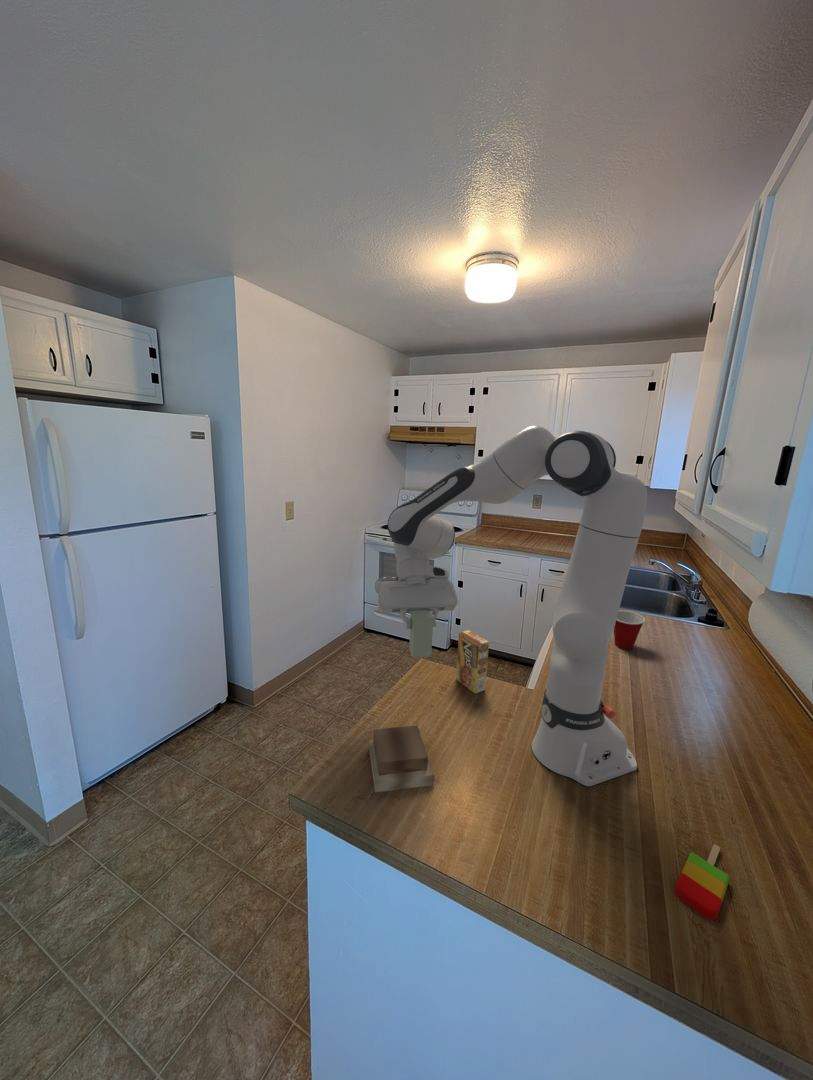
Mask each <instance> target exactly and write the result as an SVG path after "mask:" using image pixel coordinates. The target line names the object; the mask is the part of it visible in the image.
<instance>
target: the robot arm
mask: <svg viewBox="0 0 813 1080" xmlns="http://www.w3.org/2000/svg"><path fill="white" fill-rule="evenodd" d="M616 463H617V456H616V452H615V450H614V447H613V446H612V444H611V443H610V442H608V441H607V440H606V439H604V438H603V437H602V436H600V435H598V434H597V433H594V432H590V431H584V430H572V431H568V432H565V433H563V434H561V435H560V436H558V437H557V438H556V437H555V436H554V434H552V433H551V432H550V430H548V429H546V428H544V427H543V426H540V425H531V426H528V427H526V428H524V429H521V430H520V431H519V432H517V433H516V434H514V435H512V436H511V437H510V438H509V439H507V440H506V441H504V442H503V443H502V444H501V445H499V446H498V447H497V448H496V449H495V450H494V451H493V452H492V453H490V454H489V455H486V457H485V458H482V459H481V460H479V461H477V462H475V463H473V464H470V465H468V466H463V467H459V468H458V469H457V468H456V469H455V470H454V471H452V472H450V473H449V474H447V475H446V476H444V477H443V478H442V479H440V480H438V481H437V482H435V483H434V484H433V485H431V486H430V487H429V488H427V489H425V490H424V491H423V492H422V493H420V494H418V496H416V497H414V498H412V499H411V500H409V501H406V502H405V503H402V504H401V505H399V506H397V507H396V508H394V510H392V512H391V513H390V514H389V517H388V519H387V523H386V524H387V531H388V534H389V536H390V539H391V540H392V542H393V550H394V557H395V559H396V565H395V568H396V570H395V571H396V576H390V577H384V576H382V577H380V578H379V579H377V580H375V582H374V588H375V593H377V604H376V605H377V611H378V612H379V613H380V614H397V613H398V615H399V618H400V619H401V621H402V622H403V623H404V627H405V628H404V629H405V630H410V629H412V620H410V619H409V618H408V617H407V616H406V614H407V613H411V611H424V610H429V612H430V613H431V615H432V616H433V629H434V628H436V627H437V622H436V618H437V616H438V615H439V612H446V611H448V612H449V611H450V612H451V611H454V610H455V609H456V607H457V606H458V604H459V603H458V602H459V600H458V595H457V591H456V589H455V585H454V582H453V581H452V580H451V579H449V577H450V572H449V570H448V569H446V568H442V567H438V566H434V565H432V564H430V560H431V559H436V558H438V557H440V556H442V555H445V554H446V553H448V552H449V551H450V550H451V549H452V547H453V546H454V543H455V539H456V532H455V528H454V525H453V524H452V522H451V521H448V520H446V519H444V518H442V517H440V516H437V514H438V513H439V512H441V511H442V510H444V509H446V508H447V507H449V506H450V505H452V504H455V503H459V502H479V503H486V504H492V505H495V504H496V505H497V504H498V505H500V504H504V503H506V502H508V501H511V500H512V499H515V498H516V497H518V496H519V495H520V494H522V493H523V492H524V491H526V490H527V489H528V488H529V487H531V486H532V485H533V484H534V483H536V482H537V481H538V480H539V479H541V478H542V477H544V476H547V475H548V476H549V477H550V478H551V479H552V481H554V482H555V483H556V484H558V485H559V486H561V487H563V488H565V489H567V490H569V491H571V493H572V492H573V493H575V494H576V495H578V496H580V497H583V498H584V499H583V500H584V501H583V510H582V515H581V516H580V517H581V518H580V521H579V524H578V525H579V526H578V529H577V532H576V536H575V541H574V543H573V547H572V551H571V555H570V559H569V563H568V566H567V569H566V572H565V576H564V579H563V583H562V585H561V586H562V587H561V590H560V594H559V597H558V600H557V604H556V607H555V611H554V615H553V618H552V635H553V639H554V640H553V646H552V649H551V655H550V660H549V667H548V675H547V682H546V688H545V689H544V692H543V697H542V698H543V699H542V704H541V705H542V706H541V719H540V722H539V725H538V729H537V731H536V733H535V736H534V738H533V739H532V742H531V749H532V752H533V755H534V756H535V758H537V760H538V761H539V762H540V763H541V764H542V765H543V766H544V767H546V768H547V769H549V770H551V771H552V772H554V773H556V774H558V775H561V776H565V777H567V778H570V779H573V780H575V781H576V782H578V783H579V784H581V785H583V786H586V787H592V786H595V785H597V784H601V783H604V782H606V781H609V780H612V779H614V778H618V777H620V776H623V775H626V774H629V773H631V772H635V771H636V770H637V769H638V764H637V763H638V762H637V760H636V757H635V756H634V755H633V753H632V752H631V751H630V749H629V748H628V745H627V744H628V743H627V740H626V737H625V735H624V733H623V732H622V730H620V728H619V727H618V726H617V725H616V724H615V723H614V722H613V721H611V719H614V718H615V717H616V715H617V712H616V710H615V709H613V708H612V707H611V706H610V705H605V704H604V702H603V701H602V700H601V699H602V698H601V697H602V691H603V687H604V678H605V673H606V665H607V657H608V651H609V650H608V649H609V644H610V642H611V639H612V637H613V635H614V627H615V623H616V619H617V616H618V612H619V611H620V606H621V603H622V600H623V597H624V591H625V588H626V583H627V581H628V576H629V572H630V569H631V566H632V563H633V559H634V556H635V552H636V549H637V546H638V543H639V541H640V537H641V533H642V529H643V525H644V520H645V516H646V511H647V510H646V509H647V499H648V490H647V487H646V485H645V483H643V482H642V481H641V479H638V478H637V477H635V476H633V475H631V474H626V473H622V472H619V471H617V470H616V468H615V467H616Z"/></svg>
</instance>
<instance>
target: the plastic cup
mask: <svg viewBox="0 0 813 1080" xmlns="http://www.w3.org/2000/svg"><path fill="white" fill-rule="evenodd" d="M645 622H646V618H645V617H644V616H643V615H642V614H639V613H637V612H633V611H629V610H619V612H618V616H617V619H616V623H615V627H614V630H613V635H614V636H613V637H614V646H615V645H616V646H618V647H619V649H621V648H622V649H621V650H624V649H627V650H626V651H631V650H632V649H633V647H634V646H635V644H636V642H637V639H638V636H639V633H640V631H641V629H642V626H643V625H644V623H645ZM616 646H615V647H616ZM618 647H617V648H618ZM630 649H631V650H630Z"/></svg>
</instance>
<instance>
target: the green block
mask: <svg viewBox="0 0 813 1080" xmlns="http://www.w3.org/2000/svg"><path fill="white" fill-rule="evenodd" d="M433 616H434V615H431V611H429V610H424V611H411V612H410V619H409V620H412V629H409V645H408V646H409V647H408V648H409V651H410V654H411V656H412V658H415V659H416V658H429V657H430V658H431V657H432V650H433V649H432V648H433V632H434V631H433V630H434V628H433Z"/></svg>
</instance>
